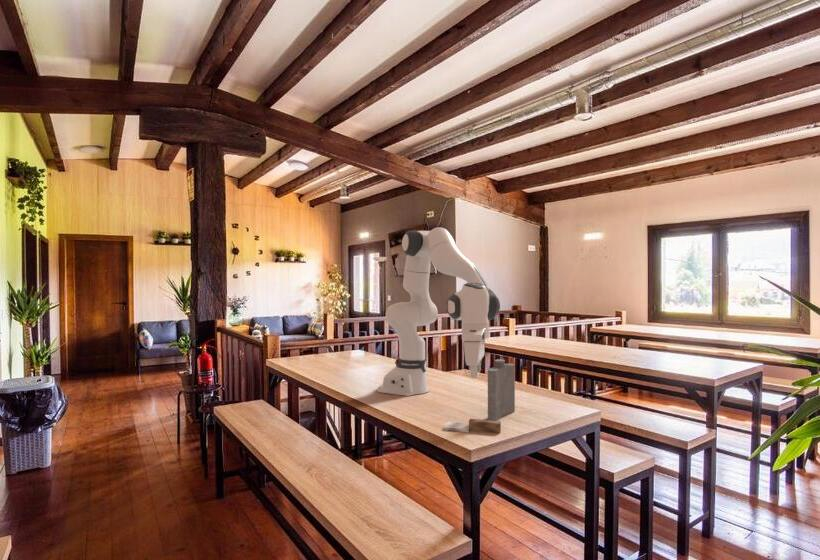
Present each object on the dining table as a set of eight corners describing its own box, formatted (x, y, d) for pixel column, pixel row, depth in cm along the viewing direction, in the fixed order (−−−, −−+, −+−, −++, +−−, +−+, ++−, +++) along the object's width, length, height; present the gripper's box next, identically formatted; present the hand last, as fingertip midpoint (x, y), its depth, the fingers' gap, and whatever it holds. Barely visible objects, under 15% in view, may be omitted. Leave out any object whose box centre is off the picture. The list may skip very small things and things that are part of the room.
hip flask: (493, 421, 159) (493, 364, 158) (483, 419, 161) (483, 362, 161) (516, 411, 170) (516, 357, 170) (506, 409, 173) (506, 356, 173)
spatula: (501, 429, 151) (501, 419, 151) (499, 435, 145) (499, 425, 145) (447, 424, 156) (447, 415, 156) (443, 430, 150) (443, 420, 150)
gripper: (470, 328, 161) (470, 367, 161) (460, 336, 142) (461, 380, 142) (488, 328, 160) (489, 368, 160) (481, 336, 140) (482, 381, 140)
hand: (475, 374), depth 151 cm, fingers open, 8 cm apart
